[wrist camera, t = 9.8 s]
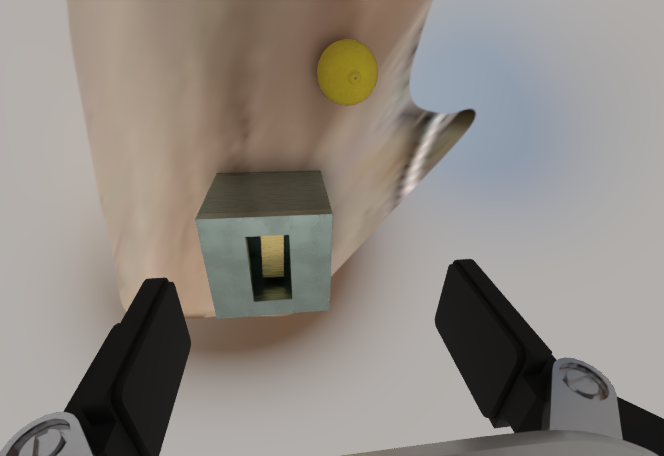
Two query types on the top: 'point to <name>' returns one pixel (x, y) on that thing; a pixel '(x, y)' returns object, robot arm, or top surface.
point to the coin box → (245, 242)
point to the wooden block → (272, 255)
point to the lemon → (347, 72)
